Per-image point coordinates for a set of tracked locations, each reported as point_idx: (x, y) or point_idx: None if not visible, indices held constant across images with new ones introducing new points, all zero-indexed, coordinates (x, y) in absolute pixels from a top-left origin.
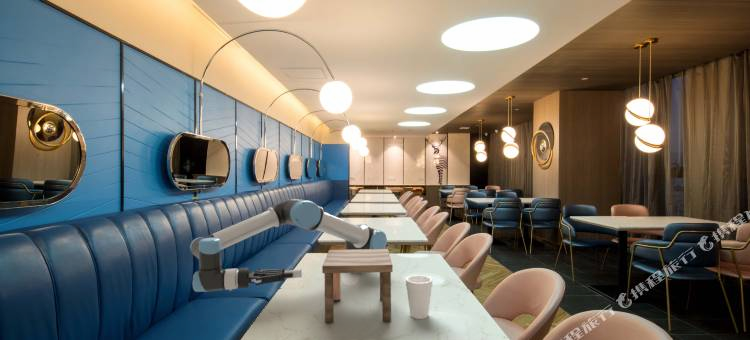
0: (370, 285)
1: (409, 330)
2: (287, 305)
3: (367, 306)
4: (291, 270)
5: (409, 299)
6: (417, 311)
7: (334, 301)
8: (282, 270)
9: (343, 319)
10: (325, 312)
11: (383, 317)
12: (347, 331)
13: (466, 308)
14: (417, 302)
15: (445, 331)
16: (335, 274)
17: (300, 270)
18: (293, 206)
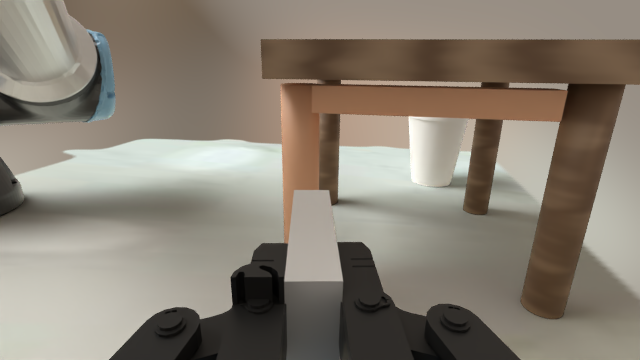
0: (193, 207)
1: (517, 195)
2: None
3: (376, 224)
4: (300, 232)
5: (448, 149)
6: (454, 168)
7: None
8: (257, 303)
9: (498, 272)
10: (571, 277)
11: (486, 203)
12: (595, 269)
13: (393, 152)
14: (460, 147)
15: (500, 173)
16: (317, 163)
17: (327, 193)
18: None
